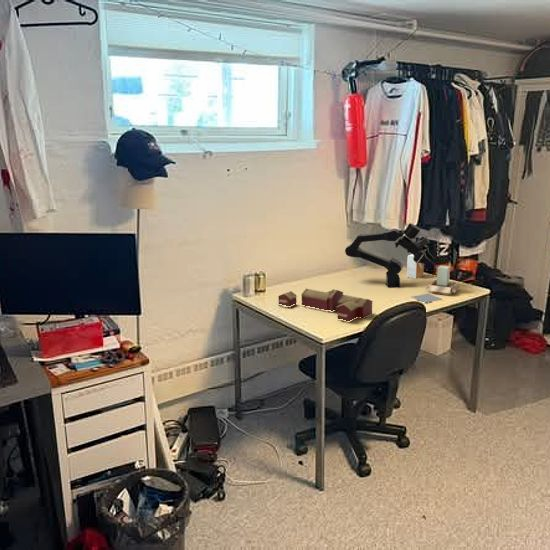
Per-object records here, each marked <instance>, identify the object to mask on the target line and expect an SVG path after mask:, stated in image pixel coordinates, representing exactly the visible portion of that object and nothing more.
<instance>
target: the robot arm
mask: <svg viewBox="0 0 550 550" xmlns="http://www.w3.org/2000/svg"><path fill="white" fill-rule="evenodd" d="M421 230H422V229H421V228H420V227H419V226H418V225H415V224H414V223H411V222H409V223H408V225H407V227H406V228H405V229H403V230H402V229H401V230H399V229H397V228H392V229H389V230H386V231H383V232H376V233H374V232H373V233H365V234H362V233H361V234H359V235H357V236H356V238H355V239H354V240H353V241H352V243H350V244H349V245H348V246H346V247H345V250H344V253H345V255H346V257H351V258H359V259H362V260H365V261H368V262H370V263H373V264H375V265H378V266H380V267H383V268H385V269H386V270H387V271H386V273H385V274H386V277H385V281H386V282H385V283H384V285H385V286H386V287H387V288H399V287H401V286H400V284H401V282H400V281H401V277H400V275H399V273H400V272H401V271H402V270H403V268H404V266H403V263H402V261H400V259H396V258H395V257H391V258H390V259H387V258H384V257H381V256H378V255H377V254H373V253H370V252H369V251H366V250H364V249H362V248H361V246H360V245H361V244H362V243H367V242H368V243H369V242H377V241H386V242H394V245H395V248H397V249H398V247H399V246H400V247H401V248H403V249H404V250H406V252H407V253H408V254H409V253H410V255H411V254H413V255H414V258H413V260H414V261H415V262H416V263H417V262H418V263H423V264H424V265H428V266H434V262H436V259H435V257H434V256H433V255H432V253H430V251H429V246H428V245H429V243H430V240H429V238H428V237H427V236H421V237H420V240H419V241H413V240H414V239H415V238H416V237H417V236H418V235H419V233H420V232H421ZM418 260H419V261H418Z"/></svg>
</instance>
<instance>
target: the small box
mask: <svg viewBox="0 0 550 550" xmlns="http://www.w3.org/2000/svg"><path fill="white" fill-rule="evenodd" d="M413 258H414V255H413V254H411V253H410V254H408V255H407V258H406V259H407V263H406V278H408V277H409V278H410V279H413V278H414V280H415V279H419V277H420V278H423V277H424V269H425V264H423V263H418V262H417V263H416V262H415V261H414V260H413ZM418 261H419V260H418ZM422 276H423V277H422Z"/></svg>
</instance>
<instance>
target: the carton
mask: <svg viewBox="0 0 550 550" xmlns="http://www.w3.org/2000/svg"><path fill="white" fill-rule="evenodd" d="M459 289H460V285H459V284H458V282H456V281H449V287H442V286H437V279H435V280H433V281H432V282H431V283H430V284H428V285H427V287H426V288H425V290H427V291H428V294H437V295H443V296H452V295H453V294H455V293H456V292H458V290H459Z"/></svg>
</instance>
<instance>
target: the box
mask: <svg viewBox="0 0 550 550" xmlns="http://www.w3.org/2000/svg"><path fill="white" fill-rule="evenodd" d="M450 271H451V266H448V265H439V266H438V267H437V271H436V272H437V273H436V280H437V286H442V287H449V282H450V274H451V273H450Z"/></svg>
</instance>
